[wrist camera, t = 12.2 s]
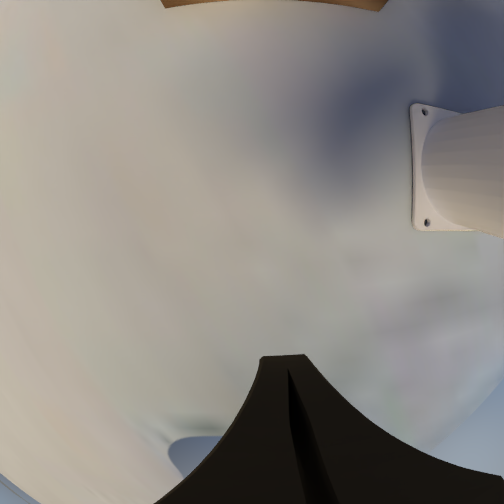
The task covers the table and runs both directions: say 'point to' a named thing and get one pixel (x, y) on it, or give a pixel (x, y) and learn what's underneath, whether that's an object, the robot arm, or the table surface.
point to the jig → (360, 0)
